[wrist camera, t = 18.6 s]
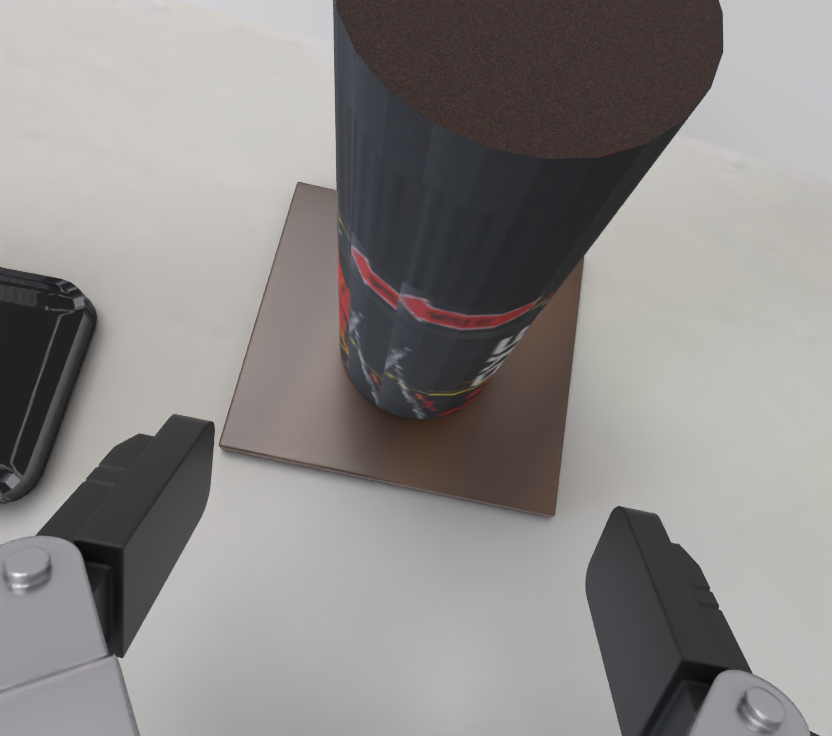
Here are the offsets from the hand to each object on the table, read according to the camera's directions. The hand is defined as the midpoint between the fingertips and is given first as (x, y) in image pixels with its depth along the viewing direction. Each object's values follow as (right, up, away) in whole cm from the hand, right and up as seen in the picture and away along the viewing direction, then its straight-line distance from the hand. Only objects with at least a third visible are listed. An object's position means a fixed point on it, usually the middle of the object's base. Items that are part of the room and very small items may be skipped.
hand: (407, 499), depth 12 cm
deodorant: (0, +3, +11) cm, 12 cm away
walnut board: (0, +4, +12) cm, 12 cm away
